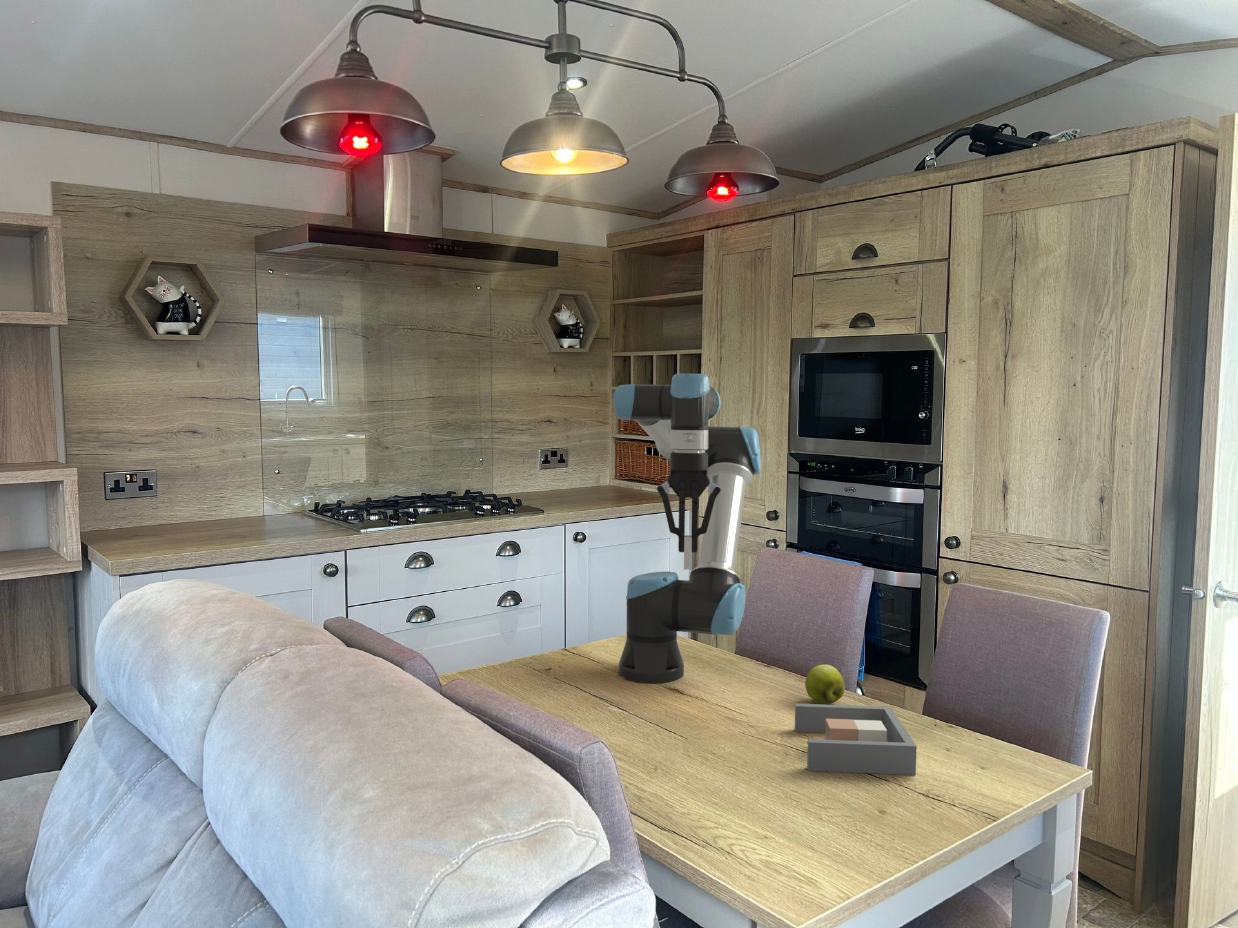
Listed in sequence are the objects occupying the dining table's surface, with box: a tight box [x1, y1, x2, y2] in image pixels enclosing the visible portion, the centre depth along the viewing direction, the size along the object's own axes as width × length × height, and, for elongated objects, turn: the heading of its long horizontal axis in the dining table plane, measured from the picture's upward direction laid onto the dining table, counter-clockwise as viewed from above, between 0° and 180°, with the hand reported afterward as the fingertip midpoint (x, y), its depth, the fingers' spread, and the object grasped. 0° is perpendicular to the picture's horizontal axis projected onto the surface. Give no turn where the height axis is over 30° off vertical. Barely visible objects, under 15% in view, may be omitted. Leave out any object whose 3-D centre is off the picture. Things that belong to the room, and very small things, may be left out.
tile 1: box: [824, 719, 858, 741], centre depth 165 cm, size 5×5×5 cm
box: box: [794, 703, 918, 776], centre depth 164 cm, size 20×18×5 cm
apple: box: [804, 664, 846, 705], centre depth 190 cm, size 8×9×8 cm
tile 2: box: [854, 720, 887, 742], centre depth 164 cm, size 5×5×5 cm
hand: (687, 568), depth 183 cm, fingers closed
